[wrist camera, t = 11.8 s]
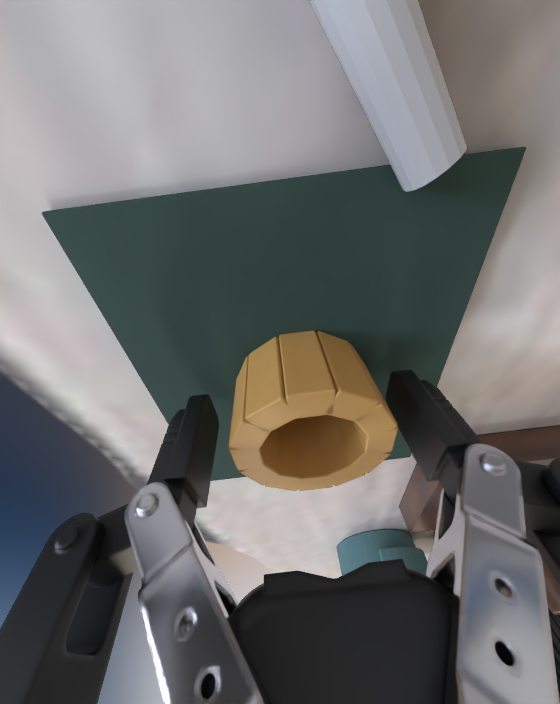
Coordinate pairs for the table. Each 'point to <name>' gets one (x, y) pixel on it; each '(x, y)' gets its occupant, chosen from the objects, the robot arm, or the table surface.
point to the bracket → (380, 550)
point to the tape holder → (518, 445)
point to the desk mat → (288, 273)
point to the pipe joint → (396, 83)
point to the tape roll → (308, 414)
